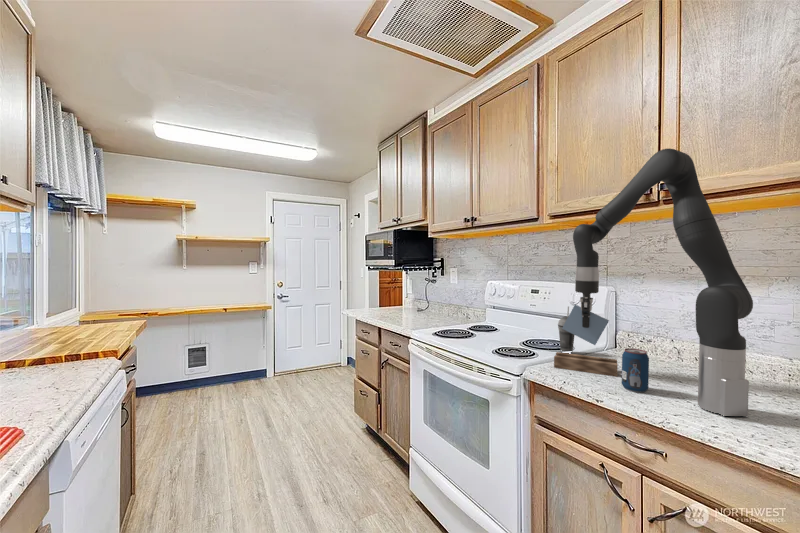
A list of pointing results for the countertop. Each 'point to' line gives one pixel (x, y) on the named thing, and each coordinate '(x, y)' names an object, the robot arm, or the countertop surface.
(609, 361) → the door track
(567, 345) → the beverage cup
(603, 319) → the door panel
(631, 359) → the soda can
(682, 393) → the countertop surface
